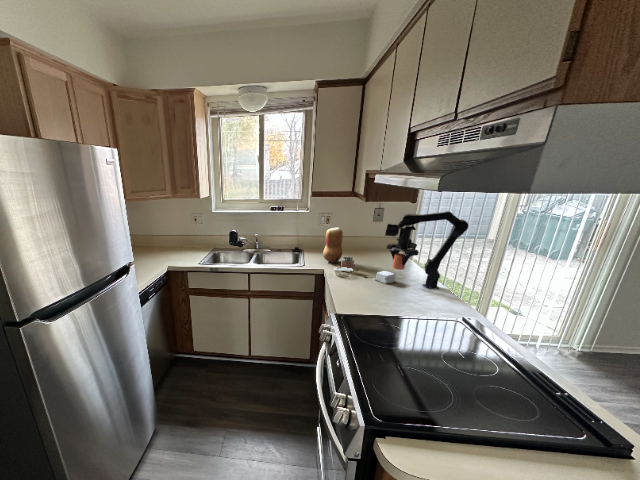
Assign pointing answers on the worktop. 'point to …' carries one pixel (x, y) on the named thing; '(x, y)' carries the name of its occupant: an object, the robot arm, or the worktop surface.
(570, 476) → the worktop surface
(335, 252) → the butternut squash
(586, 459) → the worktop surface
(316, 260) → the worktop surface
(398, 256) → the cup
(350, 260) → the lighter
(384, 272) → the small box
